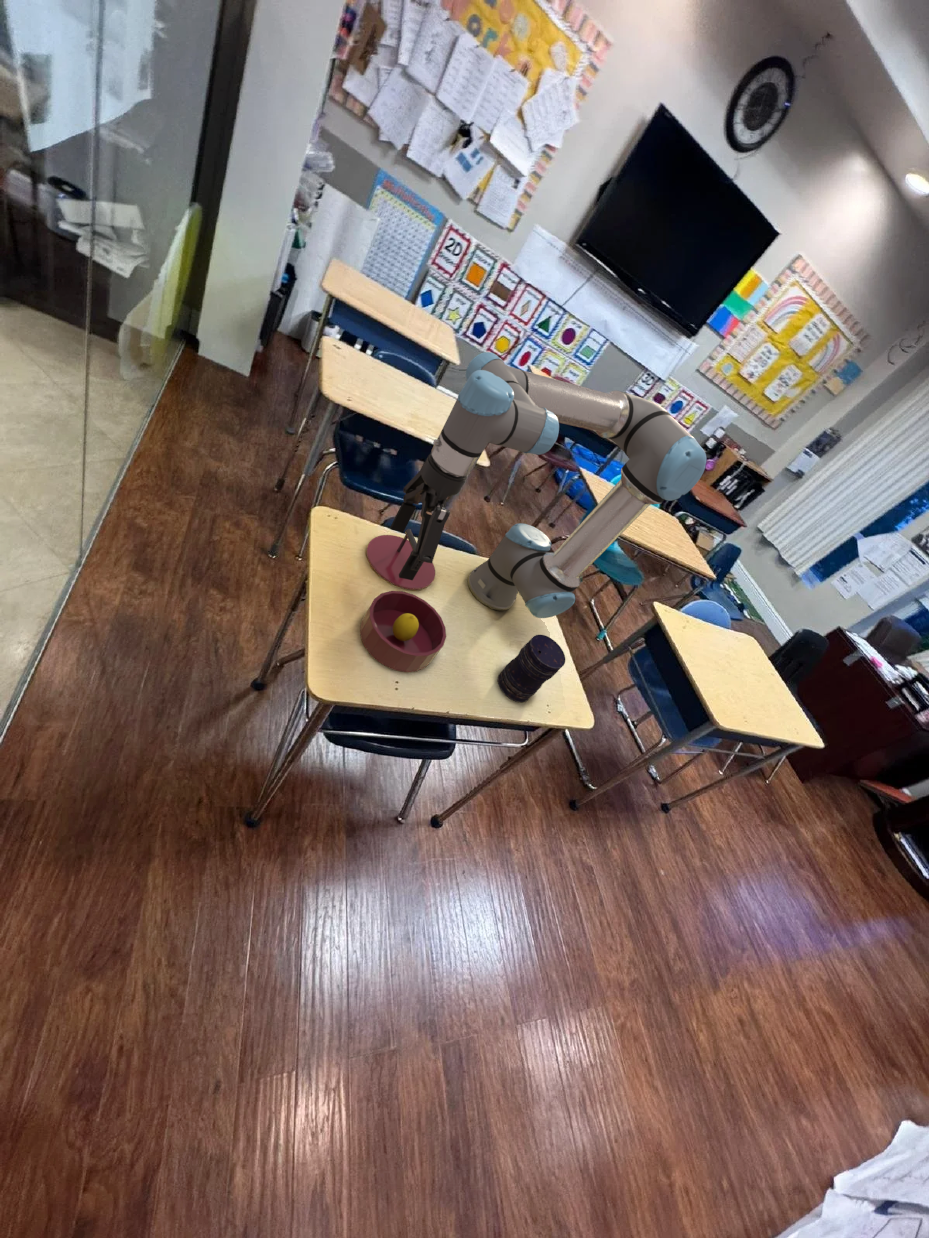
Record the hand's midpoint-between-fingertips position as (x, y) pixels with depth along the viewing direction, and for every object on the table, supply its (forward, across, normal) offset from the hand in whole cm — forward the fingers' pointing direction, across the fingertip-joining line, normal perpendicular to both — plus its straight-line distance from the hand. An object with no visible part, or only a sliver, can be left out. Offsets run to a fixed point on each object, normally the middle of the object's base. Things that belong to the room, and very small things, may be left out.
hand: (400, 552), depth 100 cm
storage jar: (+25, +10, +40) cm, 48 cm away
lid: (+24, -25, +14) cm, 38 cm away
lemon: (+25, +1, +10) cm, 26 cm away
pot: (+25, +1, +10) cm, 27 cm away
